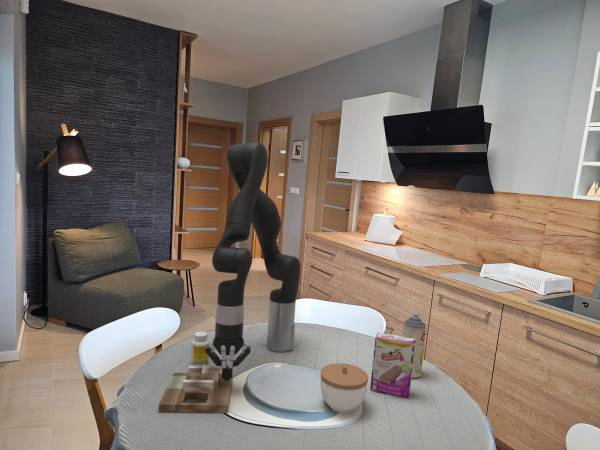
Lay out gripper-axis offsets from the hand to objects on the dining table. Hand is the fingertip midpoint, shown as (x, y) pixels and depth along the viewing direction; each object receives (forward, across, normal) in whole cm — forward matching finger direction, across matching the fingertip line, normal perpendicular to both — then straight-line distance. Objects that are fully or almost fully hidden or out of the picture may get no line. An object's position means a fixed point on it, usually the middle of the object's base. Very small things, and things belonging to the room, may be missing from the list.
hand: (226, 379), depth 115 cm
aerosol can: (+3, -57, -11) cm, 59 cm away
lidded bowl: (+3, -31, +8) cm, 32 cm away
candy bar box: (+3, -47, 0) cm, 47 cm away
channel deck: (+3, +7, +3) cm, 8 cm away
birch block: (+1, +4, 0) cm, 5 cm away
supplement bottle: (+3, +10, -17) cm, 20 cm away
